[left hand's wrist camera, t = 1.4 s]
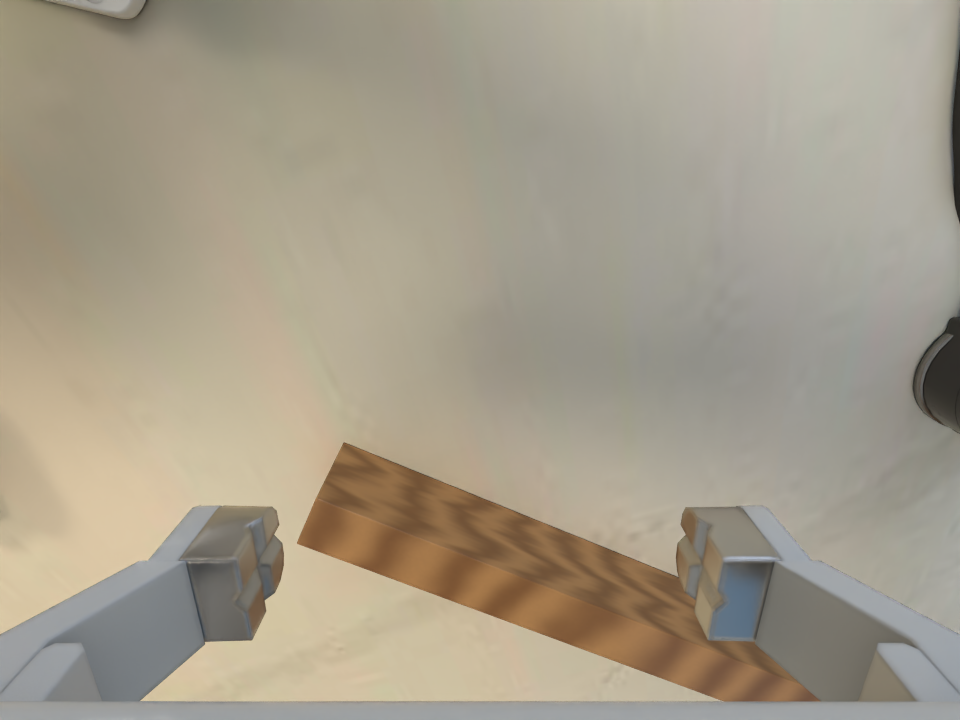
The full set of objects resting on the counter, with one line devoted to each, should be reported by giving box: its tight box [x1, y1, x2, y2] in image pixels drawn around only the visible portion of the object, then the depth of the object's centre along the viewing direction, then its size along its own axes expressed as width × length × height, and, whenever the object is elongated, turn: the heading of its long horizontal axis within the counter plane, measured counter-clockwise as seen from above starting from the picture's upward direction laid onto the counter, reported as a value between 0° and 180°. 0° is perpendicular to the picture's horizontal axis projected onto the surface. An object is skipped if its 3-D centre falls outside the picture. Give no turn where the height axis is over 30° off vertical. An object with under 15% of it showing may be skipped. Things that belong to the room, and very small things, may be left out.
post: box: [297, 443, 821, 702], centre depth 47 cm, size 67×4×8 cm, turn 65°
